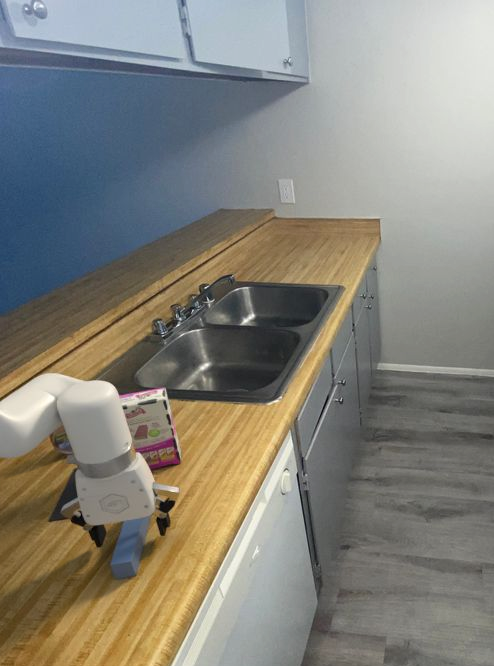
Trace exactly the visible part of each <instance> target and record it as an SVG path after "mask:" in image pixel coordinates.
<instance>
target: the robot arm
mask: <svg viewBox="0 0 494 666" xmlns="http://www.w3.org/2000/svg"><path fill="white" fill-rule="evenodd" d="M119 396H120V394H119V392H118V389H117V388H116V386H114V384H112V383H110V382H108V381H107V380H106V381H105V380H100V379H99V380H95V379H94V380H82V379H78V378H75V377H72V376H69V375H65V374H62V373H56V372H48V373H43V374H40V375H38V376H36V377H34V378H33V379H31V380H30V381H29V382H27V383H25V384H24V385H22V386H21V387H20V388H18V389H16V390H15V391H13V392H12V393H10V394H9V395H8V396H6V397H5V398H3V399H2V400H0V458H1V459H16V458H17V459H18V458H21V457H23V456H26V455H27V454H29V453H31V452H32V451H33V450H35V449H36V448H37V447H38V446H39V445H41V444H42V443H43V442H44V441H45V440H46V439H48V438H50V435H51V434H52V433H53V432H54V431H55V430H57V429H58V428H59V427H61V426H64V428H65V431H66V434H67V436H68V439H69V442H70V444H71V447H72V450H73V452H74V454H72V455H68V454H67V456H66V463H67V465H75V466H76V468H78V470H77V471H76V473H75V480H76V489H77V495H78V498H76V499H74V500H72V501H71V502H69V503H67V504H65V505H64V506H63V507H62V509H61V512H60V513H61V514H62V515H63V516H65V517H66V518H68V519H67V520H70V523H71V524H74V525H76V526H79V527H82V530H83V531H85V532H88V535H89V537H90V540H91V541H93V542H94V544H95V546H96V548H101V547H103V545H104V543H105V540H106V537H107V533H108V532H107V530H106V529H107V528H106V526H105V525H108V524H114V523H121V522H124V521H127V520H133V519H138V518H143V517H147V516H149V515H151V514H152V515H153V516H155V517H156V518H155V522H156V526H157V529H158V532H159V535H160V537H165V536H167V535H166V534H167V529H168V528H170V527H171V518H170V511H172V509H173V508H175V505H176V503H177V501H178V498H179V496H180V493H181V488H180V487H179V486H178V487H177V486H173V485H168V484H162V483H158V482H157V483H156V479H155V477H154V475H153V473H152V470H150V468H149V466H148V465H147V463H146V461H145V460H144V458H143V457H142V455H141V454H140V453H139V452H136V451H135V448H134V444H133V441H132V438H131V434H130V431H129V428H128V424H127V421H126V418H125V414H124V411H123V407H122V404H121V401H120V397H119ZM160 496H163V497H166V499H163V498H162V497H160ZM79 509H80V510H79ZM152 515H151V516H152Z"/></svg>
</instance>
